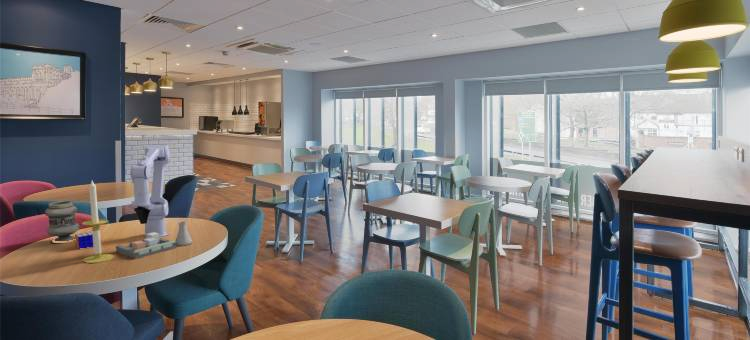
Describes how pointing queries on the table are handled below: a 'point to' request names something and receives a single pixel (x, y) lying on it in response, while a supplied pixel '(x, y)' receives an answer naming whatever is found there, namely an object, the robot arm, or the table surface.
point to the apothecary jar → (62, 220)
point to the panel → (146, 249)
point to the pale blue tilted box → (150, 242)
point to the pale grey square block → (153, 236)
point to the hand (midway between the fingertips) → (143, 223)
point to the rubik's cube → (84, 240)
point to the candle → (96, 229)
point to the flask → (183, 235)
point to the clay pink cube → (138, 245)
